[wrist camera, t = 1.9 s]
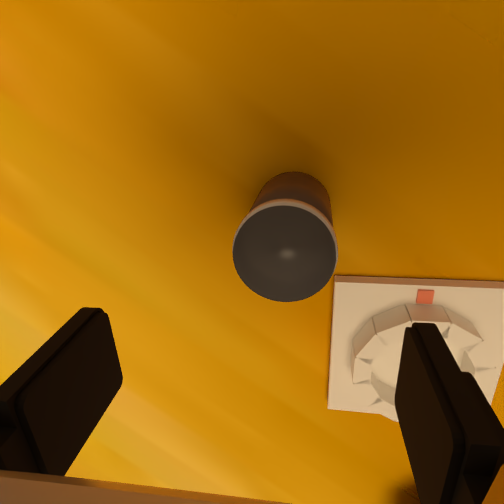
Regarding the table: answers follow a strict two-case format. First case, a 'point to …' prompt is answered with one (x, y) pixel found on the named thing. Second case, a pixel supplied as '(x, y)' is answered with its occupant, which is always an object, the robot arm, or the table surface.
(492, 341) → the lens mount
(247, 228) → the lens
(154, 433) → the table surface
